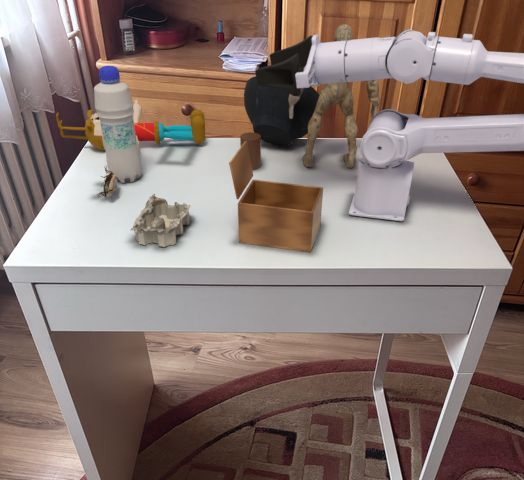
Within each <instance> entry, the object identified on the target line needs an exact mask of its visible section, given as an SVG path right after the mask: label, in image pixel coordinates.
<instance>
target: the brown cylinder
mask: <svg viewBox="0 0 524 480" xmlns="http://www.w3.org/2000/svg"><path fill="white" fill-rule="evenodd" d="M239 140H240V142H239V143H240V147H241V146H242V145H243V143H244V142H245V141H247V144H248V149H249V155H250V160H251V166H252V171H254V170H258V169H260V168H261V166H262V140H261V136H260V134H258V133H254V131H253V132H251V131H250V132H244V133H242V134H241V135H240V136H239Z"/></svg>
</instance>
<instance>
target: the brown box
mask: <svg viewBox="0 0 524 480" xmlns="http://www.w3.org/2000/svg"><path fill="white" fill-rule="evenodd" d="M323 197H324V187H322V186H314V185H304V184H296V183H287V182H279V181H270V180H262V179H261V180H260V179H251V181H250V182H249V184H248V185H247V187H246V189H245V190H244V192H243V193H242V195H241V197H240V198H239V200H238V203H237V223H238V243H239V244H245V245H253V246H260V247H261V246H262V247H267V248H275V249H282V250H290V251H296V252H305V253H311V252H312V249H313V247H314V244H315V241H316V239H317V236H318V233H319V230H320V228H321V221H322V211H323V210H322V209H323Z"/></svg>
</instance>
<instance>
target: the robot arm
mask: <svg viewBox="0 0 524 480" xmlns="http://www.w3.org/2000/svg"><path fill="white" fill-rule="evenodd" d="M436 34H437V33H436V31H429V32H428V33H427V36H426V35H424V34H423V33H422V32H420V31H418V30H413V29H412V28H410V29H406V30H403V31H402V32H401V33H399V35H397V36H384V37H379V36H377V37H365V38H358V39H355V38H354V39H352V40H346V41H336V42H335V41H327V42H321V40H320V34H314V35H309V36H307V37H306V38H304V39H303V40H301V41H300V42H298V43H296V44H294V45H291V46H289V47H286V48H282V49H280V50H276V51H275V52H271V53H270V54H269V60H270V61H269V62H270V65H266V66H262V67H259V68H257V69H256V70H255V71H254V72H255V76H256V79H257V84H258V85H261V86H266V87H271V88H276V89H280V90H283V91H285V92H287V93H289V94H291V95H293V96H295V97H298V96H299V95H300V94H301V88H309V87H310V86H311V87H321V86H322V85H325V84H332V83H346V82H348V83H357V82H367V81H372V80H377V81H378V80H388V79H394V80H395V81H397V82H400V83H403V84H405V85H410V84H413V83H415V82H417V81H418V80H419V79H421V78H422V79H423V80H425V81H429V82H439V83H448V84H457V85H465V86H469V85H471V84H473V83H474V82H475V81H477V80H478V79H480V78H486V79H492V80H498V81H505V82H511V83H518V84H524V52H505V51H488V50H487V49H486V47H485V46H484V44H483V42H482V41H481V40H479V39H473V37H474V35H473V34H472V33H463V35H462V38H458V37H449V36H448V37H447V36H438V35H436ZM359 151H360V153H359V157H358V166H357V174H356V180H355V189H354V194H353V196H352V199H351V203H350V207H349V210H348V215H349V216H355V217H362V218H372V219H378V220H387V221H395V222H404V221H405V216H406V211H407V206H409V205H410V201H411V194H410V190H411V185H412V179H413V175H414V169H415V162H414V161H410V160H411V159H413V158H415V157H417V156H419V155H421V154H441V153H442V154H445V153H446V154H447V153H449V154H450V153H489V152H490V153H491V152H524V113H515V114H491V115H489V114H488V115H470V116H469V115H467V116H447V117H427V118H425V117H422V116H420V115H418V114H414V113H403V112H400V111H398V110H396V109H392V108H388V109H387V108H385V109H382V110H380V111H377V114H376V115H375V116H374V117H373V118H372V117H371V120H370V123H369V125H368V128H367V130H366V132H365V133H364V134H363V136H362V137H361V140H360V144H359Z"/></svg>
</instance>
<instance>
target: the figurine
mask: <svg viewBox="0 0 524 480" xmlns="http://www.w3.org/2000/svg"><path fill="white" fill-rule="evenodd" d="M333 39H334V42H336V41H346V40H353V29H352V27H351V26H350V25H349V24H347V23H342V24H340V25H339V26H338V27H337V28H336V29H335V31H334V38H333ZM349 83H350V82H346V83H332V84H324V87H323V88H322V89H321V91H320V92H319V95H320V96H319V98H318V101H317V104H316V108H315V111H314V113H313V116H312V117H311V119H310V121H309V123H308V134H307V137H306V139H307V140H306V141H307V142H306V144H305V147H304V154H303V155H302V160H303V165H304V166H305V167H306V168H312V167H313V163H314V162H313V155H314V148H315V144H316V142H317V139H318V136H319V134H320V132H321V128H322V118H323V115H324V114H326V113H327V112H328V110H329V109H330V107H331V106H332V105H338V106H339V108H340V110H341V112H342V113H343V114H344V118H345V119H344V124H343V125H344V126H343V127H344V133H345V137H346V140H347V145H348V152H347V153H344V155H343V160H344V161H345V166H346V168H349V169H353V168H355V166H356V165H355V163H356V155H357V150H358V145H357V138H358V137H357V136H358V131H359V130H358V129H359V128H358V124H357V120H356V116H355V113H354V96H353V91H352V90H351V88H350V84H349ZM303 90H304V88H301V94H302V92H303ZM366 92H367V94H368V95H367V96H368V100H369V101H370V103H371V109H370V117H371V119H372V118H373V117H374V116H375V115H376V114H377V113H378V109H379V106H380V104H381V100H380V99H381V98H380V96H379V93H380V87H379V83H378V80H372V81H366ZM301 94H300V95H299V96H298V97H295V96H293V95H291V94H289V99H288V101H289V106H290V107H289V118H290V119H292V118H293V109H294V105H295V104H296V103H297V101H298V100H299V98H300V96H301Z"/></svg>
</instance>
